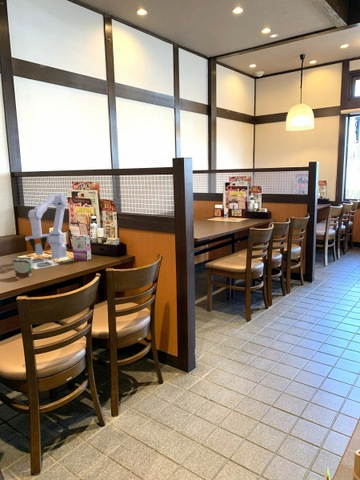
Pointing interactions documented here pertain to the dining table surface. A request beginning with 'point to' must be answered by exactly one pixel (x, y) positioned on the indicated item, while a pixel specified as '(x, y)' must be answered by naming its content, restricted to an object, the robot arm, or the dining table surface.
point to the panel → (42, 263)
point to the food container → (23, 266)
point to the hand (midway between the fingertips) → (38, 249)
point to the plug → (38, 249)
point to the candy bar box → (81, 247)
